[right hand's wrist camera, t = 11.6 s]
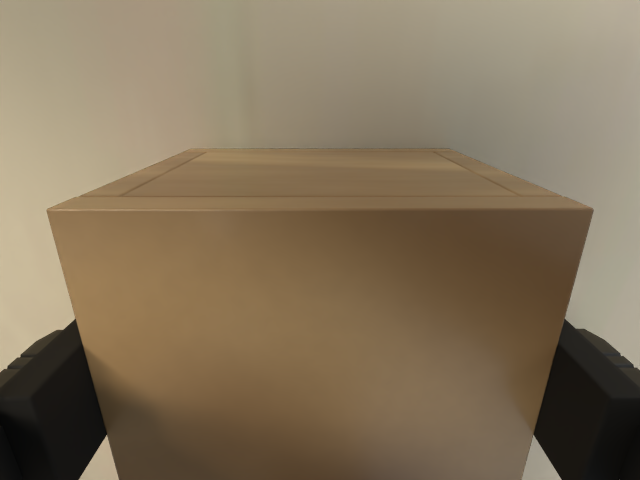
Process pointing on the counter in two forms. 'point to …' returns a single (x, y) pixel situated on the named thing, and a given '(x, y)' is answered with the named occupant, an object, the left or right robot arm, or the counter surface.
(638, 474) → the right robot arm
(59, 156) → the counter surface
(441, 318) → the cabinet
